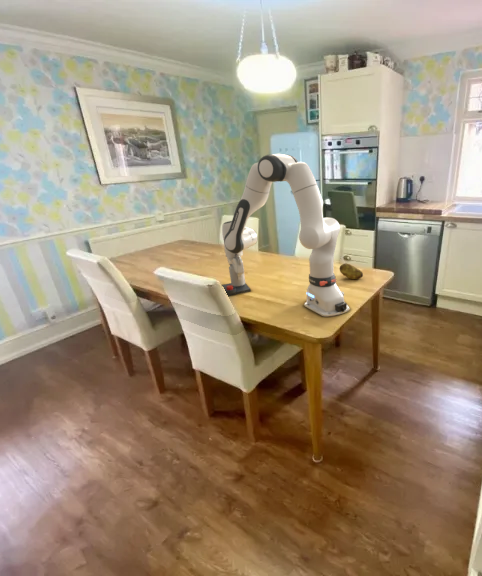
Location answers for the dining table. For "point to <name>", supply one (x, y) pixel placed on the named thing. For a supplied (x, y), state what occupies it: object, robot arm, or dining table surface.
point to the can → (234, 280)
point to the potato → (350, 271)
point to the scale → (236, 289)
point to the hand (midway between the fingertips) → (237, 277)
